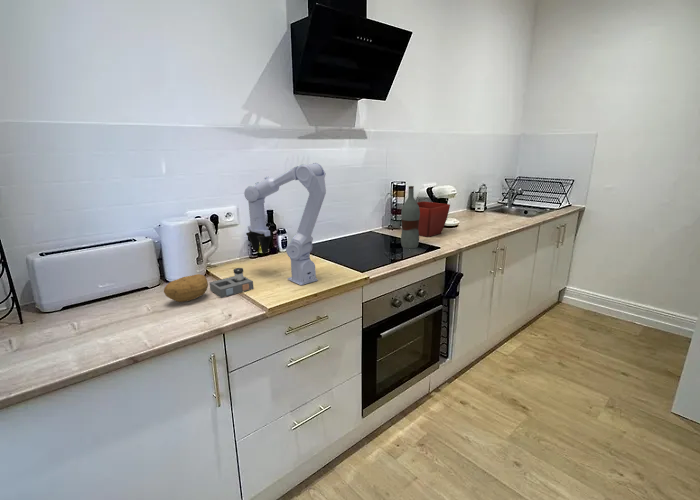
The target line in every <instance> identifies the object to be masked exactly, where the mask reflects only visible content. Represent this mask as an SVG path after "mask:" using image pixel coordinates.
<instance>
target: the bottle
mask: <svg viewBox="0 0 700 500" xmlns="http://www.w3.org/2000/svg"><path fill="white" fill-rule="evenodd" d="M414 190H415V186H414V185H408V190H407V191H408V193H407V194H408V195H407V196H408V197H407V199H406V200H405V202H404V203H403V205H402V207H401V212H400V216H401V217H400V218H401V233H400V244H401V248H404V249H409V250H410V249H417V248H418V246H419V243H420V235H419V231H418V227H419V218H420V209H419V206H418V204H417V200H416V199H415V197H414V193H415V191H414Z"/></svg>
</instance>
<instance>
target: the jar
mask: <svg viewBox="0 0 700 500" xmlns="http://www.w3.org/2000/svg"><path fill="white" fill-rule="evenodd" d="M232 270H233V271H232V272H233V274H234V275H233V276H235V283H237V282H241V281H244V278H243V276H244V268H243V267H236V268H233V269H232Z"/></svg>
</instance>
